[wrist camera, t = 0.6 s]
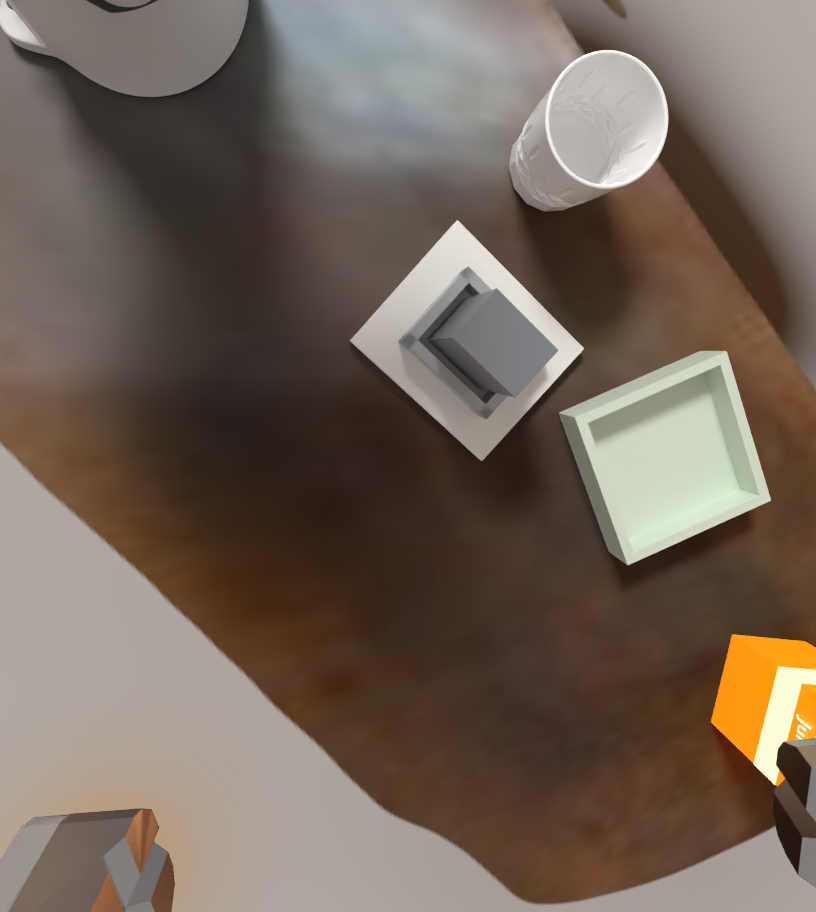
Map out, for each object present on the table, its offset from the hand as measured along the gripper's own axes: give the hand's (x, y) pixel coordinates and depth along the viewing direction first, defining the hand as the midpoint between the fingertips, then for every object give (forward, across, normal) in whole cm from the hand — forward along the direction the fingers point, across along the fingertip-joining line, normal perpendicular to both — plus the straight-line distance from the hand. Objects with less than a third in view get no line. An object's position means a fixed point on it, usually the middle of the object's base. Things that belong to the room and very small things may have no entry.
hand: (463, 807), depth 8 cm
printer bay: (+44, -4, +3) cm, 44 cm away
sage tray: (+44, -19, +14) cm, 50 cm away
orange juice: (+41, -27, +37) cm, 62 cm away
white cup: (+47, -12, -10) cm, 50 cm away
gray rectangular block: (+43, -4, +2) cm, 43 cm away
